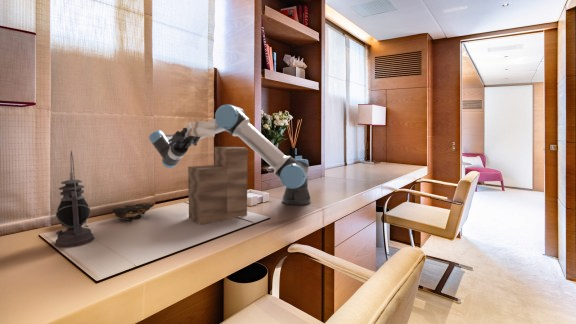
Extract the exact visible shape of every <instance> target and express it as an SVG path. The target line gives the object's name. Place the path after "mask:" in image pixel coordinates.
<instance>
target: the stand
mask: <svg viewBox="0 0 576 324" xmlns="http://www.w3.org/2000/svg"><path fill="white" fill-rule="evenodd" d="M248 151H249V150H248V147H243V146H214V154H213V155H214V164H211V165H195V166H193V165H192V166H188V167H187V173H188V174H187V175H188V176H187V181H188V186H187V187H188V219H190V220H191V221H193V222H195V223H196V224H198V225H206V224H211V223H216V222H221V221H226V220H229V219H230V218H231V219H236V218H239V216H241V217H245V216H244V215H246V216H248ZM235 217H236V218H235ZM231 219H230V220H231Z"/></svg>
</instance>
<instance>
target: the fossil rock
mask: <svg viewBox="0 0 576 324" xmlns="http://www.w3.org/2000/svg"><path fill="white" fill-rule="evenodd" d="M154 206H155V203H153V202H143V203H136V204H129V205H127V204H126V205H124V206H122V207H115V208H112V209H111V211H112V213H113V214H114V216H115V217H116V218H118V219H122V220H126V221H127V220H128V221H139V220H141V218H142V215H145V214H146V212H148V211H149V210H151V208H153V207H154Z"/></svg>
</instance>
